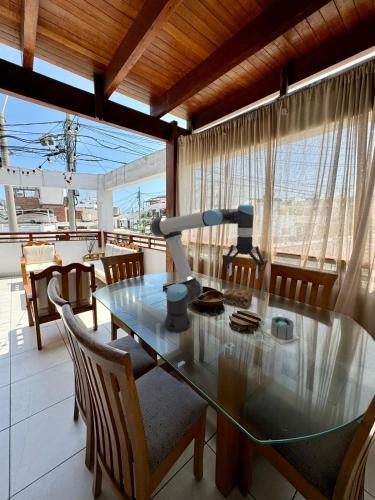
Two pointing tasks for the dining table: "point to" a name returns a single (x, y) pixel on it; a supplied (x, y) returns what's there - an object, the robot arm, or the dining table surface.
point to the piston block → (281, 339)
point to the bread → (238, 298)
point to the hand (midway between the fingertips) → (243, 276)
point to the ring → (282, 328)
